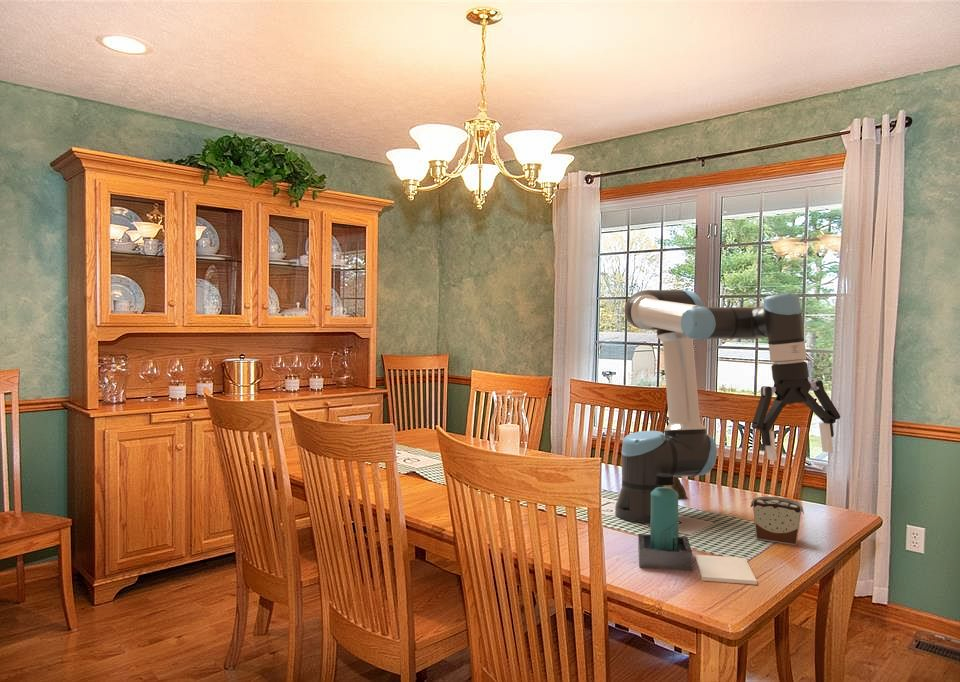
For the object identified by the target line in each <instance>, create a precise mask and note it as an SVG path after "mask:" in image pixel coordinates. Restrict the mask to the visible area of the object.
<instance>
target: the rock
mask: <svg viewBox="0 0 960 682" xmlns="http://www.w3.org/2000/svg"><path fill="white" fill-rule="evenodd" d="M673 481H674V484H673V485H668V486H666V485H664V487H667V488H672V489H674V490H675V491H676V492H677V493H678V499H688V496H687V492H686V489H685V487H684V485H683V484H682V482H681V480H680V479H679V477H673Z"/></svg>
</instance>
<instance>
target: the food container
mask: <svg viewBox="0 0 960 682" xmlns="http://www.w3.org/2000/svg"><path fill="white" fill-rule="evenodd" d="M750 508H752V509H753V519H754V529H755V530H754V531H755V532H754V533H755V539H756V540H759V539H760V541H766V542H772V541H773V543H778V542H779V543H781V544H786V545H790V546H791V545H793V546H797V544H798V537H799V529H800V522H801V515H802V514H803V515H804V514H805V512H804V507H803V505H802V503H800V502H799V501H797V500H794V499H789V498H787V497H779V496H759V497H754V498H752V501H751V503H750Z"/></svg>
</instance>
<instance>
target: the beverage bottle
mask: <svg viewBox="0 0 960 682" xmlns="http://www.w3.org/2000/svg"><path fill="white" fill-rule="evenodd" d="M655 483H656V484H658V485H666V486H668V485H673V484H674V481H673V475H671V474H666V473H660V474H656V480H655ZM679 518H680V517H679V498H678V493H677V492H676V491H675V490H674V489H672V488H667V487H657V488H655V489H654V490H653V491H652V492H651V523H649V524H650V527H649V530H650V531H649V532H650V533H649V535H651V537H650V538H651V540H650V541H651V543H650V544H651V546H650V547H651V548H650V549H665V550H678V547H679V540H678V536H680V535H679V534H680V533H679V530H680V529H679V528H680V527H679Z"/></svg>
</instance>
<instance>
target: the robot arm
mask: <svg viewBox="0 0 960 682" xmlns="http://www.w3.org/2000/svg"><path fill="white" fill-rule="evenodd" d="M623 312H624V317H625V318H626V320H627V322H628V323H629V324H630V326H632V327H635V328H636V329H640V330H649V331H650V330H651V331H653V330H654V331H655V330H656V338H657V339H659V340H660V341H661V342H662V348H663V362H664V373H665V374H664V375H665V385H666V386H665V387H666V388H665V389H666V390H665V391H666V400H667V414H668V425H667V426H666V427H665V428H664V430H663V431H664V432H663V431H658V430H641V431H636V432H632V433H628V434H627V435H626V436H625V437H623V439H622V445H621V452H620V453H621V487H620V492H619V493H618V497H617V500H616V503H615V506H614V507H615V508H614V509H615V510H614V511H615V512H614V513H615V516H617V517H618V518H620V519H623V520H625V521H626V520H627V521H629V522H630V521H631V522H636V523H645V524H646V523H647V524H648V523H649V524H650V523H651V492H652V491H653V490H654V489H655V488H657V487H664V485H658V484H656V483H655V480H656V474H660V473H666V474H671V475H673V477H678V478H679V477H698V476H704V475H707V474H708V473H710V472H711V471H712V469H713V468H714V467H715V465H716V460H717V455H718V452H717V451H718V450H717V443H716V442H715V438H714V437H713V436H712V435H710V434H708V433H707V428H706V426H704V425H703V424H702V423H701V420H700V419H701V418H700V409H699V407H700V406H699V397H698V396H699V394H698V384H697V383H698V382H697V373H696V362H695V360H696V359H695V350H694V348H695V347H694V340H700V341H701V340H711V339H712V340H714V339H716V340H717V339H722V340H723V339H724V340H725V339H726V340H728V339H729V340H731V339H736V340H739V339H740V340H752V341H753V340H757V339H762V338H763V339H765V338H767V340H768V350H769V360H770V362H771V363H772V365H771V366H770V367H771V374H772V375H771V376H772V380H773V386H768V385H764V386H761V387H760V399H759V402H758V405H757V408H756V411H755V414H754V417H753V420H752V422H751V428H752V429H755V430H759V432H760V435H761V444H762V446H765V451H766V457H767V459H766V460H770V461H773V462H774V461H777V460H778V458H777V457H778V455H777V446H776V439H775V431H774V430H771V428H772V427H773V426H774V424H775V422H776V420H777V419H778V417H779V415H780V414H781V412H782V411H783V409H784V408H785V407H786V406H787V405H793V404H795V403H798V404H801V403H803V404H805V406H807V407H808V408H809V410H810V411H811V412H813V414H814V415H816V417H818V418H819V419H820V420H821V421H822V422H819V423H818V424H819V425H818V426H819V434H820V441H821V449H822V452H823V453H828V454H831V453H832V454H833V453H834V449H833V441H832V438H833V437H834V436H835V433H834V426H833V424H835V423H836V420H840V418H841V414H840V412H839V411H838V410H837V408H836V406H835V405H834V403H833V402H832V399H831V398H830V397H829V395H828V394H827V392H826V390H825V386H824V383H823V381H822V380H821V379H820V380H819V379H818V380H817V379H814V380H811V381H809V378H810V375H809V365H808V362H807V361H805V360H807V348H806V342H805V341H806V340H805V333H804V332H805V331H804V322H803V316H802V315H803V314H802V312H803V310H802V307H801V302H800V298H799V295H798V294H796V293H792V292H791V293H790V292H789V293H780V294H779V293H778V294H774V295H773V294H772V295H767V296H765V297H764V298H763V305H761V306H754V307H753V306H751V307H750V306H747V307H745V306H744V307H743V306H741V307H735V306H732V307H731V306H729V307H728V306H727V307H724V306H723V307H722V306H721V307H720V306H719V307H718V306H704V303H703V301H702V299H701V296H699V295H698V294H697V293H696V292H694V291H691V290H683V289H661V290H660V289H645V290H640V291H637V292H635V293H634V294H632V295H631V296H630V297H629V298H628V299H627V300H626V302H625V305H624V311H623ZM810 391H813V393H814V395H815V397H816V398H817V400H818V402H819V403H818V402H817V401H816V400H815V398H814V397H813V395H811V394H810V393H809V392H810ZM774 394H775V395H776V396H775V398H774V399H773V401H772V397H773V395H774ZM771 401H772V405H771ZM770 405H771V407H770Z"/></svg>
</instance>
